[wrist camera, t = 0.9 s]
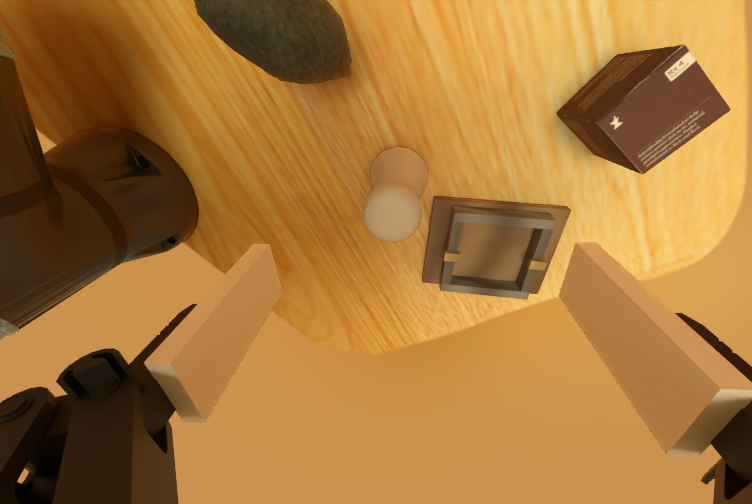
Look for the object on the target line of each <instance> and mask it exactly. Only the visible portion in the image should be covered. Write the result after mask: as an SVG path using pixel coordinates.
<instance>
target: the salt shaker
mask: <svg viewBox="0 0 752 504" xmlns="http://www.w3.org/2000/svg"><path fill="white" fill-rule="evenodd" d="M369 174H370V182H371V190H372V191H371V192H370V193H369V194H368V196H367V198H366V201H365V203H364V206H363V209H362V210H363V218H364V224H365V226H366V227H367V229H368V230H369V232H370V233H371V234H372V235H373V236H375V237H377V238H378V239H380V240H382V241H388V242H398V241H401V240H405V239H407V238H408V237H409V236H411V235H412V234H413V233H414V232H415V231H416V229H417V227H418V224H419V222H420V220H421V218H422V217H421V202H420V200H419V199H420V197H421V195H422V193H423V191H424V189H425V186H426V184H427V182H428V175H427V167H426V165H425V163H424V161H423V160H422V158H421V156H420V155H418V154H417V153H415V152H414V151H413V150H411V149H410V148H403V147H394V148H391V149H388V150H385V151H383V152H382V153H381V154H380V155H379V156H378V157H377V158H376V159H375V160H374V162H373V165H372V168H371V170H370V173H369Z"/></svg>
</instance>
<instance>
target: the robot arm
mask: <svg viewBox="0 0 752 504" xmlns="http://www.w3.org/2000/svg"><path fill="white" fill-rule="evenodd" d="M13 59H17V56H16V52H15V51H14V50H13V49H12V48H10V47H9V46H8V43H7V40H6V38H5V35H4V33H3V30H2V27H1V25H0V339H2V338H4V337H5V336H7V335H12V334H14V333H15V332H17V331H18V330H19V329H21V328H22V327H24V326H25V325H27V324H29V323H30V322H32V321H33V320H35V319H36V318H38V317H39V316H41V315H42V314H44V313H45V312H47V311H48V310H50V309H52V308H53V307H55V306H56V305H57V304H59V303H61V302H62V301H64V300H65V299H67V298H68V297H70V296H71V295H73V294H74V293H76V292H78V291H79V290H81V289H82V288H84V287H85V286H87V285H88V284H90V283H91V282H93V281H94V280H96V279H97V278H99V277H100V276H102V275H103V274H105V273H107V272H108V271H110V270H111V269H113V268H115V267H116V266H117V265H119V264H121V263H124V262H128V261H131V260H136V259H140V258H144V257H148V256H152V255H155V254H159V253H163V252H166V251H169V250H171V249H172V248H174V247H176V246H177V245H179V244H180V243H182V242H183V241H185V240H186V239H187V238H188V237H189V236H190V235H191V234H192V232H193V231H194V229H195V226H196V223H197V217H198V209H197V202H196V198H195V195H194V192H193V189H192V187H191V185H190V183H189V181H188V179H187V178H186V176H185V174H184V173H183V171H182V170H181V169H180V167H179V166H178V165H177V164H176V162H175V161H174V160H173V159H172V158H171V157H170V156H169V155H168V154H167V153H166V152H165V151H163V150H162V149H161V148H160V147H159V146H157V145H156V144H154V143H153V142H151V141H150V140H148V139H147V138H145V137H143V136H141V135H139V134H137V133H134V132H132V131H129V130H125V129H121V128H114V127H106V128H98V129H92V130H86V131H82V132H79V133H76V134H74V135H72V136H70V137H69V138H67V139H66V140H64V141H63V142H61V143H60V144H58V145H56V146H55V147H53V148H52V149H50V150H49V151H47V152H46V153H44V154H43V151H42V148H41V145H40V142H39V139H38V136H37V132H36V129H35V126H34V123H33V120H32V117H31V114H30V110H29V107H28V104H27V101H26V98H25V95H24V92H23V88H22V85H21V82H20V79H19V76H18V73H17V70H16V66H15V63H14V60H13ZM281 293H282V288H281V284H280V281H279V277H278V273H277V270H276V266H275V262H274V259H273V255H272V251H271V247H270V244H253V245H252V246H251V247H250V248H249V249H248V250H247V252H246V253H245V254H244V255H243V256H242V257H241V258H240V259H239V260H238V261H237V262H236V263H235V264H234V266H233V267H232V268H231V269H230V270H229V271H228V272H227V273H226V274H225V275H224V276H223V277H222V279H221V280H220V281H219V282H218V283H217V284H216V285H215V286H214V287H213V288H212V289H211V290H210V292H209V293H208V294H207V295H206V296H205V297H204V298H203V299H202V300H201V301H200V302H199V303H198V304H192V305H191V306H189V307H188V308H186V309H184V310H183V311H182V312H180V313H179V314H178V315H177V316H176V317H175V318H174V319H173V320H172V321H171V322H170V323H169V326H166V327H165V328H164V329H163V330H162V331H161V332H160V335H157V336H156V337H155V338H154V340H153V341H151V342H150V344H149V345H148V346H147V347H146V348H145V349H144V350H143V351H142V352H141V353H140V354H139V355H138V356H137V357H136V358H135V359H134V360H133V361H132V362H131V363H130V364H129V365H128V363H127V362H126V361H125V359H124V358H123V356H122V355H121V353H120V352H119V351H118V350H116V349H113V348H112V349H102V350H98V351H95V352H92V353H90V354H88V355H86V356H83V357H81V358H80V359H78V360H77V361H75V362H74V363H72V364H71V365H69V366H68V367H67V368H66V369H65V370H64V371H63V372H62V373H61V374H60V376H59V377H58V379H57V381H56V382H57V383H58V384H59V385H60V386H61V387H62V389H64V391H65V392H66V393H67V394H68V395H63V396H59V397H55V396H54V395H53V394H52V393H51V392H50V391H49V390H48V389H47V388H44V387H36V388H30V389H27V390H25V391H22V392H19V393H17V394H15V395H13V396H11V397H9V398H7V399H5V400H4V401H2V402H1V403H0V504H178V493H177V483H176V471H175V460H174V449H173V437H172V428H171V425H170V423H169V421H168V420H169V419H170V417H171V416H172V414H173V413H174V412H175V410H176V412H177V413H178V415H179V416H180V418H181V419H182V421H185V422H200V423H205V422H206V421H207V419H208V417H209V416H210V414H211V412H212V411H213V409H214V407H215V406H216V404H217V402H218V400H219V399H220V397H221V395H222V394H223V392H224V390H225V389H226V387H227V385H228V383H229V382H230V380H231V378H232V377H233V375H234V373H235V371H236V370H237V368H238V366H239V365H240V363H241V361H242V360H243V358H244V356H245V354H246V352H247V351H248V349H249V348H250V346H251V344H252V343H253V341H254V339H255V337H256V335H257V334H258V332H259V331H260V329H261V327H262V326H263V324H264V322H265V320H266V319H267V317H268V315H269V314H270V312H271V310H272V309H273V307H274V305H275V303H276V302H277V300H278V298H279V297H280V295H281ZM559 297H560V298H561V300H562V301H563V303H564V304H565V306H566V307H567V309H568V310H569V312H570V313H571V315H572V316H573V318H574V319H575V321H576V322H577V323H578V325H579V326H580V328H581V329H582V331H583V332H584V334H585V335H586V337H587V338H588V340H589V341H590V343H591V344H592V346H593V347H594V349H595V350H596V351H597V353H598V354H599V356H600V357H601V359H602V360H603V362H604V363H605V365H606V366H607V368H608V369H609V371H610V372H611V374H612V375H613V377H614V378H615V380H616V381H617V383H618V384H619V385H620V387H621V388H622V390H623V391H624V393H625V394H626V396H627V397H628V399H629V400H630V402H631V403H632V404H633V406H634V408H635V409H636V411H637V412H638V414H639V415H640V416H641V418H642V419H643V421H644V422H645V424H646V425H647V427H648V428H649V430H650V431H651V433H652V434H653V436H654V437H655V438H656V440H657V442H658V443H659V444H660V446H661V447H662V449H663V450H664V452H665V453H666V455H681V456H695V457H698V456H700V455H701V454H702V453H703V451H704V450H705V449H706V448H707V447H708V446H709V445H710V444H712V446H713V447H714V448H715V449H716V451H717V452H718V453H719V454H720V455H721V457H722V458H721V459H720V460H719V461H718V462H717V463H716V464H715V465H714V466H713V467H712V468H711V469H710V470H709V471H708V472H707V473H706V474H705V475H704V476H703V478H702V480H701V481H702V482H703V483H705V484H708V483H709V482H710V481H711V480H712V479H715V486H714V501H713V504H752V367H751V366H750V365H749V364H748V363H747V362H746V361H744V360H743V359H742V358H741V357H740V356H738V355H737V354H736V353H733V352H732V350H731V349H730V348H729V347H728V346H727V345H725V344H724V343H723V342H722V341H721V342H720V341H719V339H718V338H717V337H716V336H715V335H714V334H713V333H711V332H710V331H709V330H708V329H707V328H706V327H704V326H703V325H702V324H700V323H698V322H696V321H695V320H693V319H691V318H689V317H687V316H686V315H684V314H682V313H674V312H673V311H672V310H670V309H669V308H668V307H667V306H666V305H665V304H664V303H663V302H661V301H660V300H659V299H658V298H657V297H656V296H655V295H654V294H653V293H652V292H650V291H649V290H648V289H647V288H646V287H645V286H644V285H643V284H642V283H640V282H639V281H638V280H637V279H636V278H635V277H634V276H633V275H631V274H630V273H629V272H628V271H627V270H626V269H625V268H624V267H623V266H621V265H620V264H619V263H618V262H617V261H616V260H615V259H614V258H613V257H611V256H610V255H609V254H608V253H607V252H606V251H605V250H604V249H602V248H601V247H600V246H599V245H598V244H597V243H576V244H575V247H574V250H573V253H572V256H571V259H570V262H569V266H568V269H567V272H566V275H565V278H564V281H563V284H562V287H561V291H560V294H559ZM24 468H25V469H26V470H28V471H29V474H28V475H27V477H26V479H25V480H24V481H23V483H22V484H20V483H18V482H17V481H18V478H19V477H20V475H21V473H22V471H23V470H24Z"/></svg>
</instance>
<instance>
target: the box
mask: <svg viewBox="0 0 752 504" xmlns="http://www.w3.org/2000/svg"><path fill="white" fill-rule="evenodd" d="M729 111H730V107H729V106H728V105H727V103H726V102H725V100H724V99H723V98H722V96H721V95H720V93H719V92H718V91H717V89H716V88H715V87H714V85H713V84H712V82H711V81H710V80H709V78H708V77H707V76H706V74H705V73H704V71H703V70H702V68H701V67H700V65H699V64H698V63H697V61H696V59H695V58H694V57H693V55H692V54H691V53H690V51H689V50H688V48H687V47H686V46H685V45H678V46H674V47H665V48H659V49H652V50H644V51H638V52H631V53H625V54H618V55H617V56H616V57H615V58H614V59H613V60H612V61H611V62H610V63H608V64H607V65H606V66H605V67H604V68H603V69H602V70H601V71H600V72H599V73H598V74H597V75H596V76H595V77H594V78H593V79H592V80H591V81H590V82H588V83H587V84H586V85H585V86H584V87H583V88H582V89H581V90H580V91H579V92H578V93H577V94H576V95H575V96H574V97H573V98H572V99H571V100H570V101H569V102H568V103H567V104H566V105H564V106H563V107H562V108H561V109H560V110H559V111H558V112H557V114H558V116H559V117H560V118H561V119H562V120H563V121H564V122H565V123H566V124H567V126H568V127H569V128H570V129H571V130H572V131H573V132H574V133H575V134H576V135H577V136H578V137H579V139H580V140H581V141H582V142H583V143H584V144H585V145H586V146H587V147H588V148H589V149H590V150H591V151H592V152H593V154H594V155H596V156H599V157H602V158H604V159H606V160H608V161H611V162H613V163H616V164H618V165H621V166H623V167H625V168H628V169H630V170H633V171H635V172H638V173H640V174H644V173H646V172H647V171H648V170H650V169H651V168H653V167H654V166H655V165H657V164H658V163H659V162H661V161H662V160H664V159H665V158H666V157H667V156H669V155H670V154H672V153H673V152H674V151H676V150H677V149H678V148H680V147H681V146H682V145H684V144H685V143H686V142H688V141H689V140H691V139H692V138H693V137H695V136H696V135H697V134H699V133H700V132H701V131H703V130H704V129H705V128H707V127H708V126H710V125H711V124H712V123H714V122H715V121H716V120H718V119H719V118H720V117H722V116H723V115H724V114H726V113H727V112H729Z"/></svg>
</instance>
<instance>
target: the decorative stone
mask: <svg viewBox="0 0 752 504" xmlns="http://www.w3.org/2000/svg"><path fill="white" fill-rule="evenodd" d="M194 3H195V6H196V10H197V13H198V15H199V16H200V17H201V18H202V20H203V21H204V22H205V23H206V24H207V25H208V27H209V28H210V29H211V30H212V31H213V32H214V34H216V35H217V36H218V37H219V38H220V39H221V40H222V41H224V42H225V43H226V44H227V45H228V46H229V47H230V48H232V49H233V50H234V51H235V52H237V53H238V54H240V55H242V56H243V57H245V58H246V59H248V60H249V61H251V62H252V63H254V64H255V65H257V66H258V67H260V68H262V69H263V70H264V71H266V72H267V73H268V74H270V75H272V76H274V77H276V78H278V79H279V80H280V81H288V82H294V83H300V84H313V83H320V82H325V81H328V80H332V79H339V78H343V77H347V76H350V75H351V68H350V64H351V61H352V60H351V55H350V50H349V45H348V40H347V36H346V32H345V28H344V25H343V21H342V19H341V17H340V16H339V15H338V13H337V12H336V11H335V9H334V8H333V7H332V6H331V5H330V3H329V2H328V1H327V0H194Z"/></svg>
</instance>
